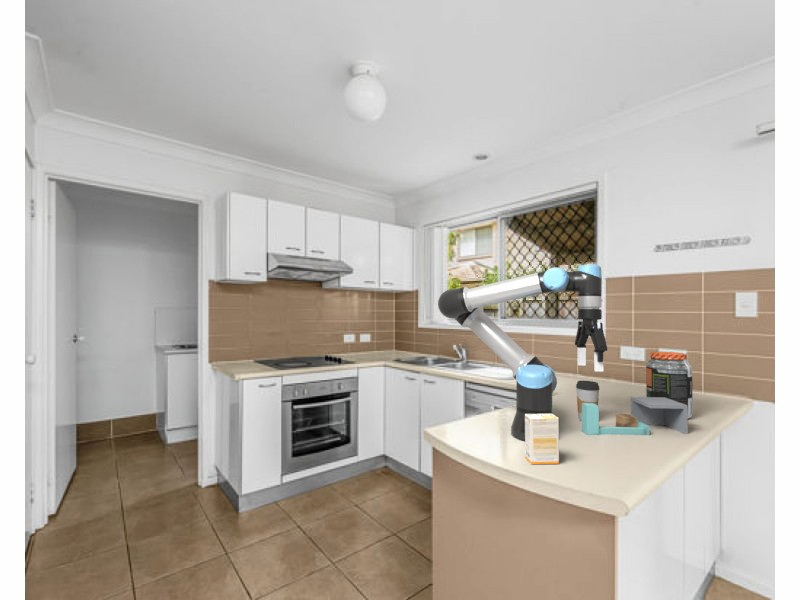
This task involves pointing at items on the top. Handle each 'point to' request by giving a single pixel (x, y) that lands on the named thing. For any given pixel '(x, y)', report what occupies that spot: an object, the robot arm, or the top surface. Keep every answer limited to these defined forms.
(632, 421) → the block
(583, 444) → the top surface
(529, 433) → the supplement box
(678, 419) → the block
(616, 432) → the teal cube-topped l-bracket
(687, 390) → the supplement tub
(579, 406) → the coffee cup
